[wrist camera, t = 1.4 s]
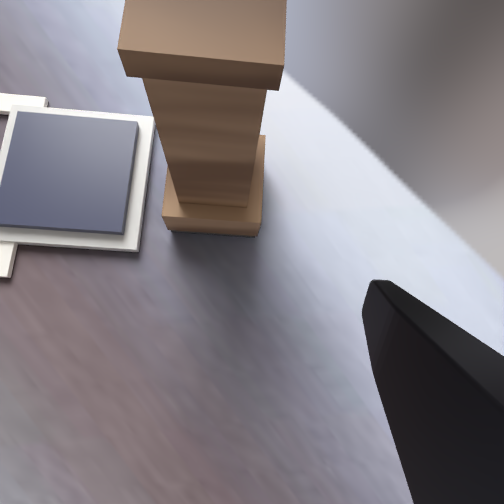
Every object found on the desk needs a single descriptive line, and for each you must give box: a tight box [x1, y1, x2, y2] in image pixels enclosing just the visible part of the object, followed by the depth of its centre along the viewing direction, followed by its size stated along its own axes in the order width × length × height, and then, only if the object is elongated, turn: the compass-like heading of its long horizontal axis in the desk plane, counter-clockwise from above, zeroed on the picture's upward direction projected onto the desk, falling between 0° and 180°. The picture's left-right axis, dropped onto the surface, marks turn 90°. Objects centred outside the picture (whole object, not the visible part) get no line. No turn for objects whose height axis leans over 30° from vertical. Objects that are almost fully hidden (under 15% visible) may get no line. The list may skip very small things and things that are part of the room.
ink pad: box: [0, 104, 155, 252], centre depth 23 cm, size 9×9×1 cm
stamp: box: [117, 0, 287, 237], centre depth 17 cm, size 5×5×14 cm
